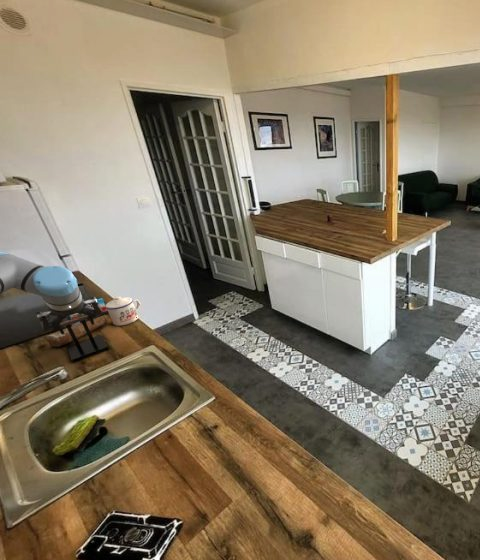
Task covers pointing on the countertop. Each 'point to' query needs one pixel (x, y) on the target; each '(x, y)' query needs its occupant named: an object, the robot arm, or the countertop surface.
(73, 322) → the slicer arm
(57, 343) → the bread
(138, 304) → the teacup with lid
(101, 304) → the blue printed flat box
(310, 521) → the countertop surface
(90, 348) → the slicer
